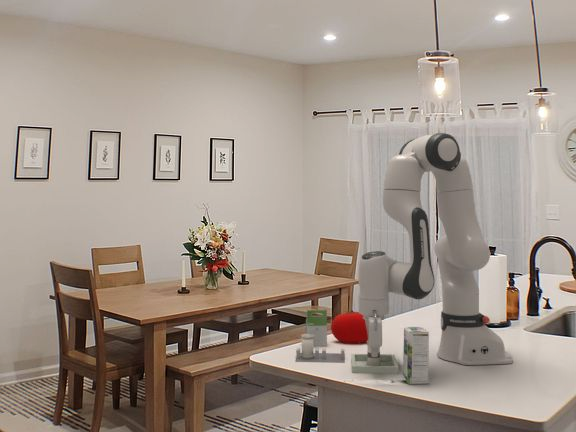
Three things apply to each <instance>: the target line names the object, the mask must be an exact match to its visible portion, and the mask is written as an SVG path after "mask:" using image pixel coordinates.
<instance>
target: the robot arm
mask: <svg viewBox="0 0 576 432" xmlns="http://www.w3.org/2000/svg"><path fill="white" fill-rule="evenodd" d="M387 163H388V164H387V167H386V171H385V175H384V181H383V182H384V183H383V190H382V206H383V210H384V212H385V214H387V216H389V217H390V218H391V219H392V220H394V221H395V222H397V223H399V224H400V225H402V226H403V227H404V228H405V230H406V232H407V233H408V237H409V238H408V239H409V252H410V255H409V256H410V261H409V262H403V261H397V260H396V259H393V258H391V257H390V256H388V255H387V253H386V252H384V251H382V250H380V251H379V250H376V251H369V252H366V253H364V254H362V255H361V257H360V259H359V263H358V286H359V293H358V312H359V313H360V314H362V315H363V319H365V323H366V329H367V335H368V341H369V346H371V356H372V357H377V356H378V347H380V348H381V347H382V346H383V321H384V320H385V318H386V316H387V315H389V314H390V293H393V294H396V295H400V296H406V297H408V298H411V299H415V300H422V299H424V298H426V297H427V296H428V295H429V294H430V293H431V292H432V290H433V289H434V285H435V274H434V271H433V267H432V256H431V255H432V253H431V241H430V228H429V219H428V214H427V213H426V211H425V209H424V208H423V206H422V203H421V200H422V199H421V191H422V190H421V186H422V185H421V184H422V183H421V182H422V178H423V175H424V174H425V173H429V172H431V173H432V174H433V176H434V179H435V190H436V199H437V210H438V217H439V219H440V221H441V223H442V227H443V230H444V232H445V234H444V235H442V236H440V237H439V238H438V239H437V240H436V242H435V244H434V253H435V256H436V258H437V262H438V269H439V275H440V279H441V287H442V288H441V289H442V310H441V312H440V313H441V314H440V328H441V335H440V343H439V347H438V350H437V353H436V355H437V357H438V358H440V359H442V360H445V361H448V362H454V363H458V364H460V365H463V366H479V365H481V366H482V365H503V364H505V365H507V364H512V363H513V361H514V358H513V356H512V355H511V354H510V353H509V352H507V351H506V348H505V343H504V341H503V339H502V338H501V336H499V335H498V334H497V333H496V332H494V331H493V329H490V328H489V327H488V326H487V325H486V324H489V323H490V321H491V319H490V318H489V316H488V315H487V316H486V315H484V314H482V313H480V288H479V285H478V284H477V279H476V277H475V273H474V271H479V270H482V269H483V268H485V267H486V265H487V264H488V263H489V261H490V257H491V252H490V251H491V250H490V248H489V245H488V244H487V243H486V241H485V240H484V237H483V233H482V230H481V226H480V225H479V224H480V223H479V221H478V218H477V214H476V206H475V205H476V204H475V197H474V187H473V180H472V179H473V178H472V175H471V171H470V167H469V164H468V161H467V159H466V158H465V157H463V156H462V153H461V151H460V146H459V143H458V142H457V140H456V138H455V137H454V136H453V135H451V134H449V133H445V132H438V133H432V134H425V135H422V136H420V137H416V138H413V139H409V141H406V143H404V144H403V145H402V147H401V149H400V150H399V153H398V154H397V155H394V156H392V157H391V158H390V159H389V161H388V162H387Z"/></svg>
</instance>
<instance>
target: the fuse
mask: <svg viewBox="0 0 576 432" xmlns="http://www.w3.org/2000/svg"><path fill="white" fill-rule="evenodd" d="M366 346H367V351H366V352H367V353H366V354H367V357H368V361H366V366H381V361H380V354H381V347H378V356H377V357H372V356H371V346H369V341H368V340H367V342H366Z"/></svg>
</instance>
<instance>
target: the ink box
mask: <svg viewBox="0 0 576 432" xmlns="http://www.w3.org/2000/svg"><path fill="white" fill-rule="evenodd" d="M327 312H328V311H327V309H316V310H314V309H313V310H312V309H311V310H306V318H305V334H306V333H309V334H313V335H314V339H313V348H314V347H315V348H316V347H317V348H319V347H322V348H323V347H328V320H327V319H328V318H327V317H328V313H327ZM314 314H321V315H314ZM313 315H314V316H313Z"/></svg>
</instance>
